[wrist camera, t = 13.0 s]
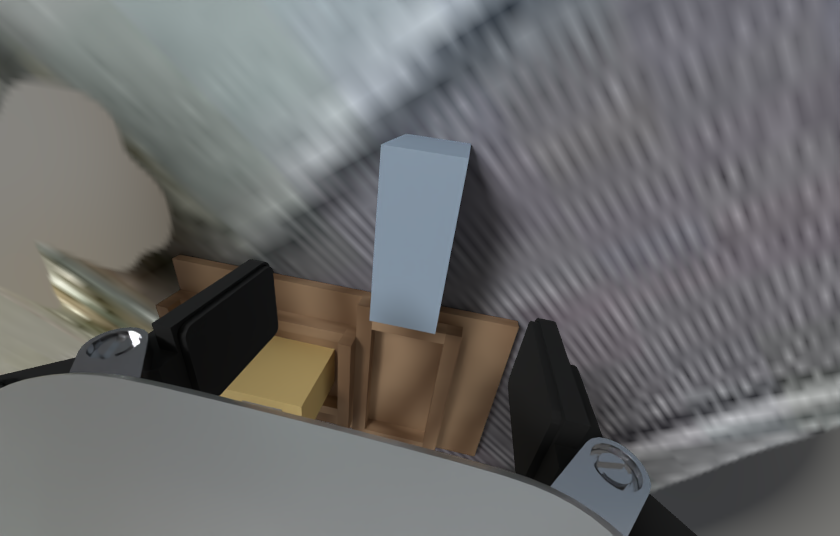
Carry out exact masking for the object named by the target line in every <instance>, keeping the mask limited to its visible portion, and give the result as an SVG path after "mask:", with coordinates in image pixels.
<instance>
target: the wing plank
mask: <svg viewBox="0 0 840 536" xmlns="http://www.w3.org/2000/svg"><path fill="white" fill-rule="evenodd" d="M470 148H471V144H469V143H462V142H456V141H449V140H443V139H437V138H430V137H424V136H417V135H411V134H405V135H402V136H400V137H398V138H395V139H393V140H391V141H388V142H386V143H384V144H381V155H380V170H379V185H378V200H377V215H376V230H375V245H374V260H373V275H372V290H371V305H370V320H369V321H374V322H379V323H384V324H388V325H393V326H398V327H403V328H408V329H413V330H418V331H423V332H427V333H432V334H435V332H436V327H437V322H438V317H439V311H440V306H441V301H442V296H443V291H444V285H445V280H446V275H447V270H448V265H449V259H450V254H451V249H452V244H453V239H454V234H455V228H456V223H457V218H458V213H459V208H460V202H461V197H462V192H463V187H464V182H465V177H466V171H467V166H468V161H469V155H470Z"/></svg>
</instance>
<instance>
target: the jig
mask: <svg viewBox="0 0 840 536" xmlns="http://www.w3.org/2000/svg"><path fill="white" fill-rule="evenodd" d="M172 261H173V264H174V268H175V272H176V275H177V279H178V283H179V287H180V290H179V291H178V292H176V293H174V294H173V295H171V296H170V297H168V298H166V299H165V300H163V301H162V302H160V303H159V304H157V305H156V308H157V311H158V314H159V317H160V318H161V317H162V316H164V315H165V314H167V313H168V312H170V311H172V310H173V309H175V308H176V307H178V306H179V305H181V304H182V303H184V302H185V301H187V300H188V299H190V298H191V297H193V296H195V295H196V294H198V293H199V292H201V291H202V290H204V289H205V288H207V287H208V286H210V285H211V284H213V283H214V282H216V281H218V280H219V279H221V278H222V277H224V276H225V275H227V274H228V273H230V272H231V271H233V270H234V269H236V268H237V267H239V266H235V265H230V264H225V263H220V262H215V261H210V260H205V259H200V258H195V257H190V256H185V255H178V256H176V257H174V258H172ZM273 276H274V286H275V296H276V306H277V316H278V330H277V333H276V334H275V336H277V337H282V338H286V339H291V340H296V341H300V342H305V343H309V344H314V345H318V346H323V347H327V348H332V349H335V372H334V383H333V385H332V387H331V389H330V391H329V393H328V395H327V397H326V399H325V401H324V403H323V405H322V407H321V409H320V411H319V413H318V415H317V417H316V419H317V420H321V421H325V422H330V423H334V424H337V425H338V426H342V427H346V428H349V427H351V428H352V429H354V430H358V431H361V432H365V433H369V434H373V435H377V436H381V437H385V438H389V439H393V440H396V441H400V442H404V443H408V444H412V445H416V446H420V447H424V448H427V449H431V450H435V447H437V448H441V449H445V450H450V451H454V452H458V453H462V454H467V455H471V456H475V453H476V450H477V447H478V444H479V441H480V438H481V435H482V433H483V430H484V427H485V424H486V421H487V418H488V415H489V412H490V409H491V406H492V404H493V401H494V398H495V395H496V392H497V389H498V386H499V383H500V380H501V378H502V375H503V372H504V369H505V366H506V363H507V360H508V357H509V354H510V351H511V349H512V346H513V343H514V340H515V337H516V334H517V331H518V328H519V326H518V321H515V320H510V319H504V318H499V317H494V316H489V315H484V314H479V313H474V312H469V311H464V310H459V309H454V308H449V307H444V306H440V311H439V317H438V322H437V327H436V332H435V334H432V333H427V332H423V331H418V330H413V329H408V328H403V327H398V326H393V325H388V324H384V323H379V322H374V321H369V320H370V305H371V292H367V291H362V290H357V289H352V288H347V287H342V286H337V285H332V284H327V283H322V282H317V281H312V280H306V279H301V278H296V277H291V276H286V275H281V274H276V273H273Z"/></svg>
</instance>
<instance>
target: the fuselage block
mask: <svg viewBox="0 0 840 536" xmlns="http://www.w3.org/2000/svg"><path fill="white" fill-rule="evenodd" d="M334 372H335V349H332V348H327V347H323V346H318V345H314V344H309V343H305V342H300V341H296V340H291V339H286V338H282V337H277V336H274V337H273V338H272V339H271V340H270V341H269V342H268V343H267V345H266V346H265V347H264V348H263V349H262V350H261V351H260V352H259V353H258V354H257V356H256V357H255V358H254V359H253V360H252V361H251V362H250V363H249V364H248V365H247V366H246V368H245V369H244V370H243V371H242V372H241V373H240V374H239V375H238V376H237V377H236V379H235V380H234V381H233V382H232V383H231V384H230V385H229V386H228V387H227V388H226V389H225V391H224V392H223V393H222V394H221V395H220V396H221V397H225V398H229V399H234V400H238V401H242V402H246V403H250V404H254V405H258V406H262V407H266V408H270V409H274V410H278V411H282V412H286V413H290V414H294V415H298V416H302V417H306V418H310V419H314V420H315V419H316V417H317V415H318V413H319V411H320V409H321V407H322V405H323V403H324V401H325V399H326V397H327V395H328V393H329V391H330V389H331V387H332V385H333V383H334Z"/></svg>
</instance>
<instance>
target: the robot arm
mask: <svg viewBox="0 0 840 536" xmlns="http://www.w3.org/2000/svg"><path fill="white" fill-rule="evenodd" d="M152 326H153V329H154V330H153V331H152V332H150V333H149V334H148V333H147V332H146V331H145V330H143V329H140V328H131V327H129V328H120V329H115V330H111V331H108V332H105V333H103V334H100V335H98V336H96V337H94V338H92V339H90V340H89V341H88V342H86V343H85V344H84V345H83V346H82V347H81V349H80V350H79V351H78V354H77V356H76V358H72V359H68V360H64V361H59V362H55V363H51V364H47V365H42V366H38V367H34V368H30V369H25V370H21V371H17V372H13V373H8V374H4V375H0V536H697V535H696V534H695V533H693V532H692V531H691V530H690V529H689V528H688V527H687V526H685V525H684V524H683V523H682V522H681V521H680V520H679V519H678V518H676V517H675V516H674V515H673V514H672V513H671V512H670V511H668V510H667V509H666V508H665V507H664V506H663V505H661V504H660V503H659V502H658V501H657V500H656V499H655V498H654V497H653V496H651V495H650V494H649V493H650V488H651V483H650V479H649V475H648V473H647V472H646V470H645V468H644V466H643V465H642V464H641V462H640V461H639V460H638V459H637V457H636V456H635V455H633V454H632V453H631V452H630V451H629V450H628V449H626V448H625V447H623V446H622V445H620V444H619V443H617V442H614V441H612V440H609V439H606V438H603V437H602V434H601V432H600V429H599V426H598V423H597V420H596V418H595V415H594V412H593V409H592V407H591V404H590V401H589V398H588V396H587V393H586V390H585V387H584V385H583V382H582V379H581V376H580V373H579V371H578V369H577V367H576V366H574V365H570V363H569V360H568V357H567V354H566V351H565V348H564V345H563V342H562V339H561V336H560V334H559V331H558V328H557V325H556V322H554V321H550V320H545V319H540V318H537V319H536V320H535V322H533V321H530V322H529V324H528V327H527V330H526V333H525V336H524V338H523V341H522V344H521V347H520V349H519V352H518V355H517V358H516V361H515V363H514V366H513V369H512V372H511V375H510V378H509V382H508V392H509V404H510V415H511V426H512V438H513V449H514V460H515V471H516V473H513V472H510V471H507V470H504V469H501V468H497V467H494V466H490V465H487V464H483V463H479V462H476V461H472V460H468V459H465V458H461V457H458V456H454V455H450V454H447V453H443V452H439V451H435V450H431V449H427V448H424V447H420V446H416V445H412V444H408V443H404V442H400V441H396V440H393V439H389V438H385V437H381V436H377V435H373V434H369V433H365V432H361V431H358V430H354V429H350V428H346V427H342V426H338V425H334V424H330V423H326V422H322V421H318V420H314V419H310V418H306V417H302V416H298V415H294V414H290V413H286V412H282V411H278V410H274V409H270V408H266V407H262V406H258V405H254V404H250V403H246V402H242V401H238V400H234V399H229V398H225V397H221V396H220V395H221V394H222V393H223V392H224V391H225V389H226V388H227V387H228V386H229V385H230V384H231V383H232V382H233V381H234V380H235V379H236V377H237V376H238V375H239V374H240V373H241V372H242V371H243V370H244V369H245V368H246V366H247V365H248V364H249V363H250V362H251V361H252V360H253V359H254V358H255V357H256V356H257V354H258V353H259V352H260V351H261V350H262V349H263V348H264V347H265V346H266V345H267V343H268V342H269V341H270V340H271V339H272V338H273V337H274V336H275V334H276V333H277V330H278V316H277V306H276V296H275V286H274V276H273V269H272V268H271V267H269V264H268V263H266V262H262V261H257V260H248V261H247V262H245V263H244V264H242V265H241V266H239V267H237V268H236V269H234V270H233V271H231V272H230V273H228V274H227V275H225V276H224V277H222V278H221V279H219V280H218V281H216V282H214V283H213V284H211V285H210V286H208V287H207V288H205V289H204V290H202V291H201V292H199V293H198V294H196V295H195V296H193V297H191V298H190V299H188V300H187V301H185V302H184V303H182V304H181V305H179V306H178V307H176V308H175V309H173V310H172V311H170V312H168V313H167V314H165V315H164V316H162V317H161V318H159V319H158V320H156V321H155V322H153V323H152Z"/></svg>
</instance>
